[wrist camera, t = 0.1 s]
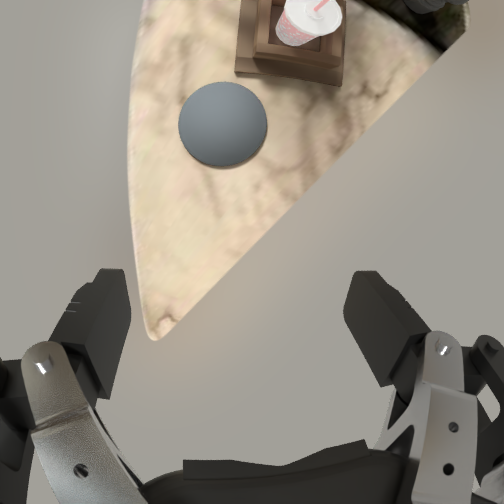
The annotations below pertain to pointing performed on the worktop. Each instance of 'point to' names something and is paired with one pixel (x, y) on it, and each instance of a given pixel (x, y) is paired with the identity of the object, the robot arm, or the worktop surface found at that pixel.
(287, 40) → the beverage cup
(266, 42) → the stepped square tray
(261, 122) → the slate coaster
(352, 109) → the worktop surface
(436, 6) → the candle holder
